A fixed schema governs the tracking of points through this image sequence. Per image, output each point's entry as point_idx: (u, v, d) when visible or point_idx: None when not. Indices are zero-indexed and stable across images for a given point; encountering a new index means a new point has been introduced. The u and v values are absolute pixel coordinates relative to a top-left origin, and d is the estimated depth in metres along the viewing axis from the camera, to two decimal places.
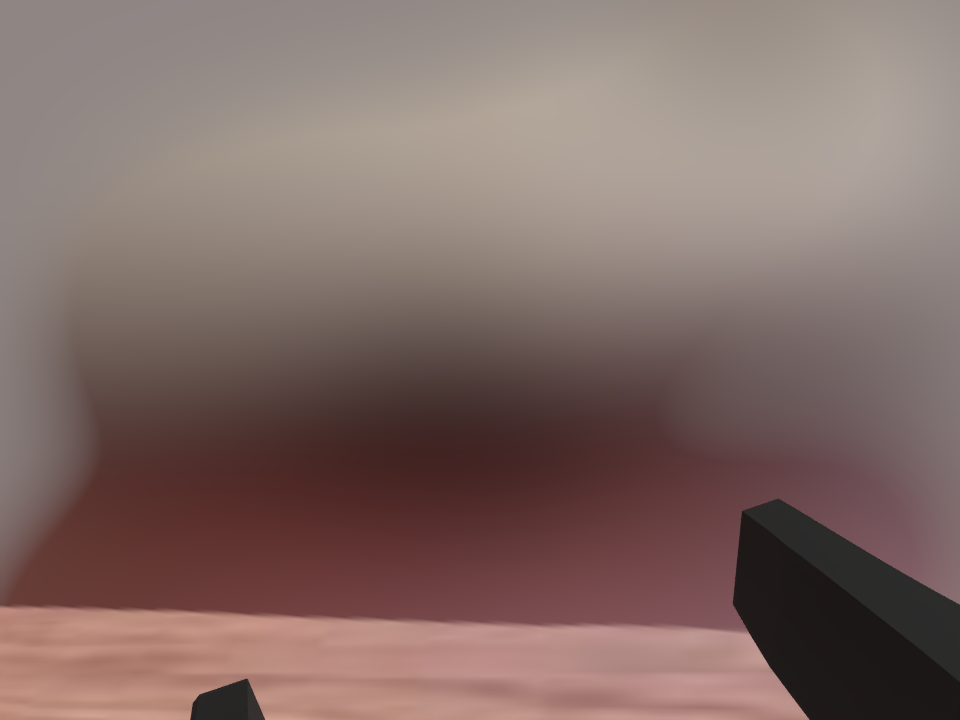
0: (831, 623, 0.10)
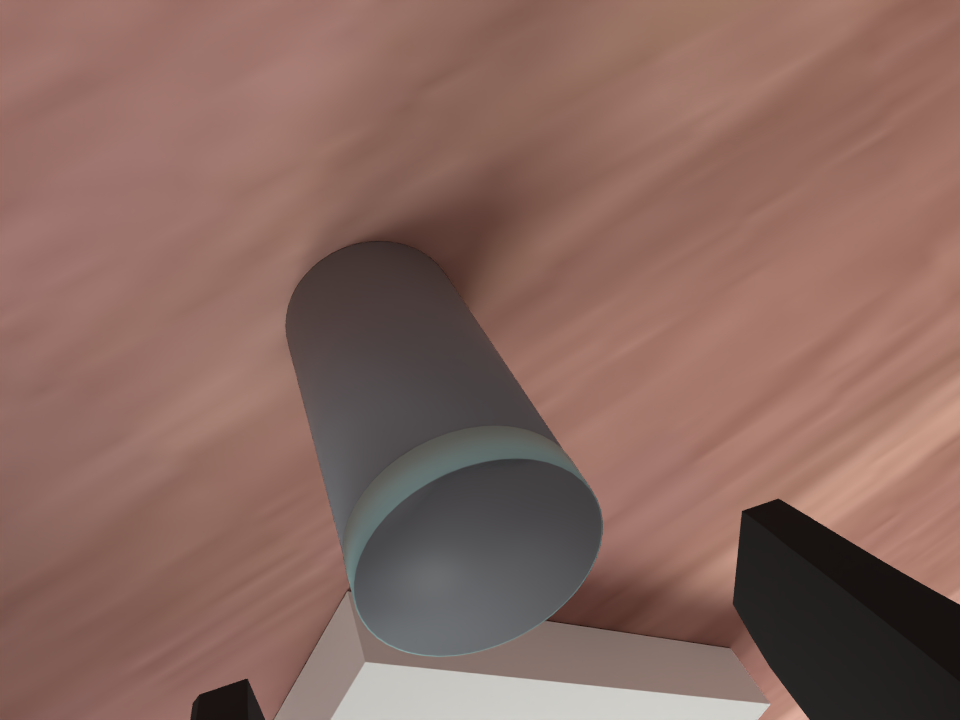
0: (831, 623, 0.10)
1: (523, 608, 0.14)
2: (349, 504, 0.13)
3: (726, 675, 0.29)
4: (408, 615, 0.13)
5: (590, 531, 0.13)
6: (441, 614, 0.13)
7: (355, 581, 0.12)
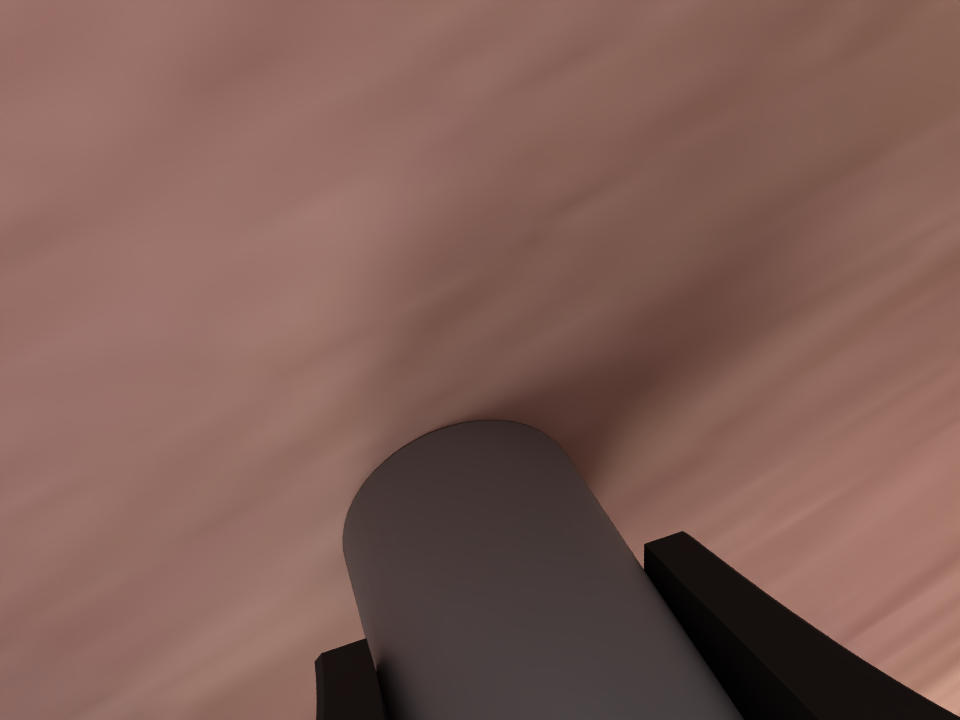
0: (723, 664, 0.10)
1: None
2: None
3: None
4: None
5: None
6: None
7: None
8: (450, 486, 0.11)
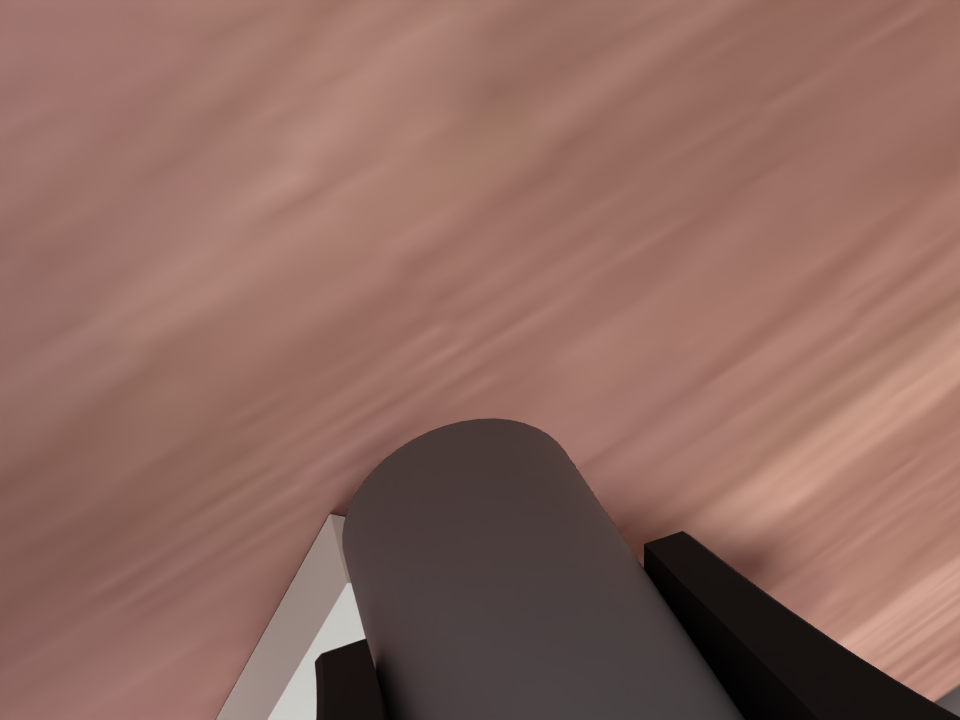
0: (723, 664, 0.10)
1: None
2: None
3: None
4: None
5: None
6: None
7: None
8: (450, 484, 0.11)
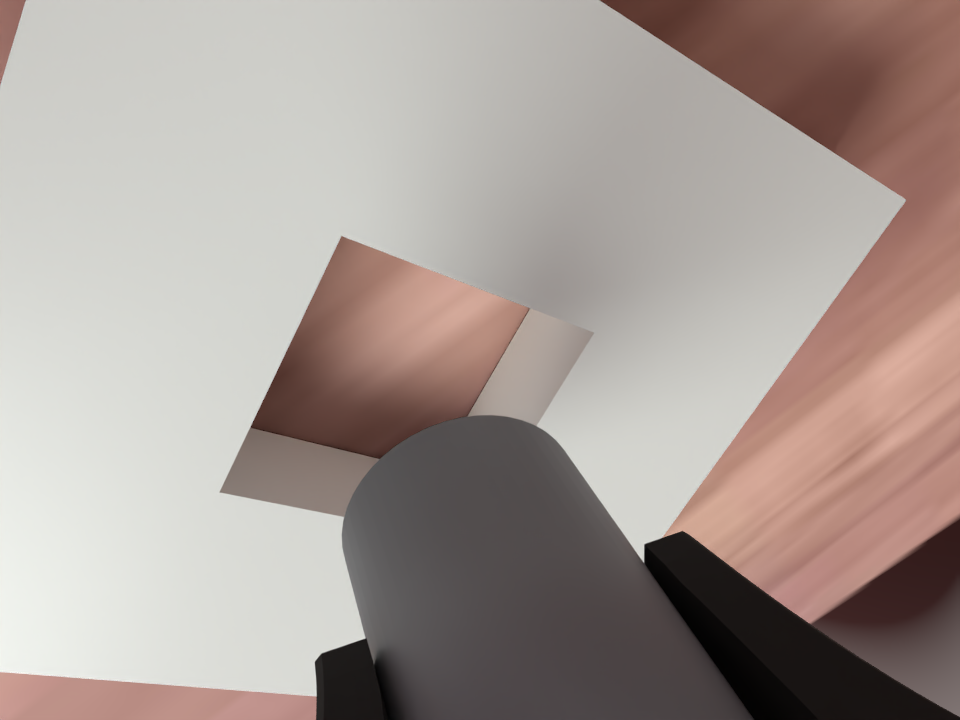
0: (723, 663, 0.10)
1: None
2: None
3: None
4: None
5: None
6: None
7: None
8: (447, 477, 0.11)
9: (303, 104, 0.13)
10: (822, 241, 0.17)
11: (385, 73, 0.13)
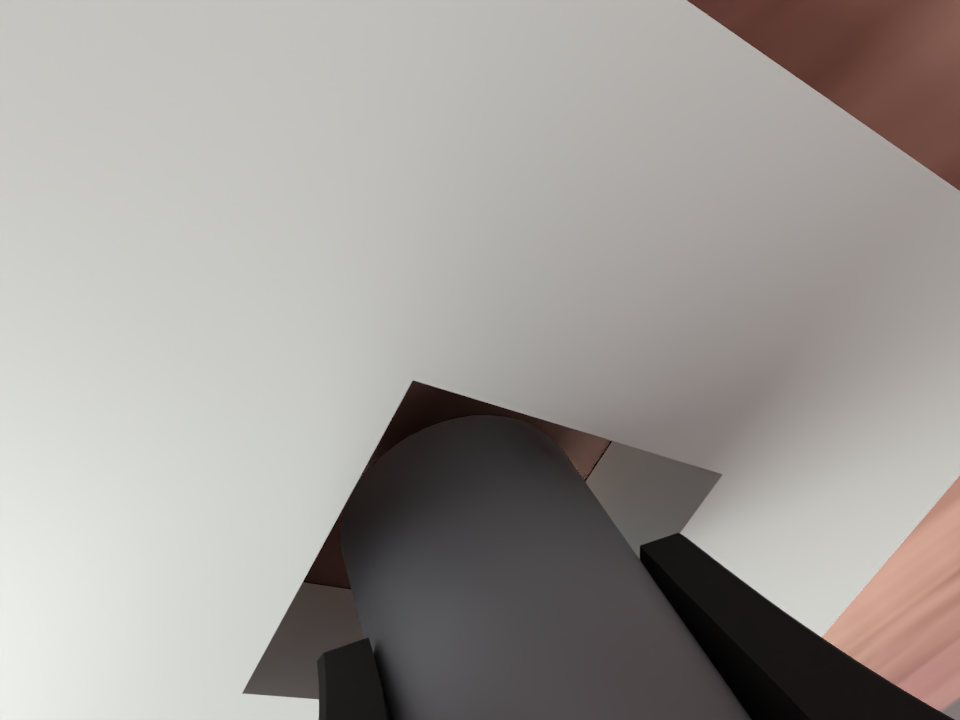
0: (718, 666, 0.10)
1: None
2: None
3: None
4: None
5: None
6: None
7: None
8: (446, 477, 0.11)
9: (369, 214, 0.09)
10: None
11: (483, 169, 0.09)
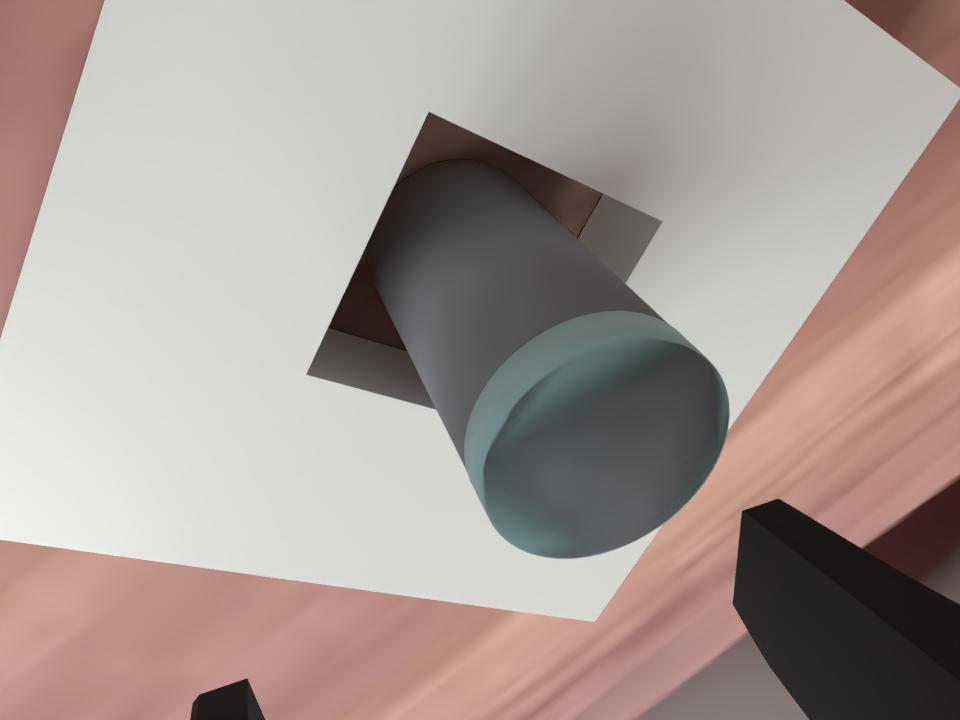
0: (831, 623, 0.10)
1: (644, 508, 0.13)
2: (472, 397, 0.12)
3: None
4: (532, 510, 0.12)
5: (716, 424, 0.13)
6: (564, 511, 0.13)
7: (484, 470, 0.12)
8: (441, 186, 0.17)
9: None
10: (882, 133, 0.18)
11: None
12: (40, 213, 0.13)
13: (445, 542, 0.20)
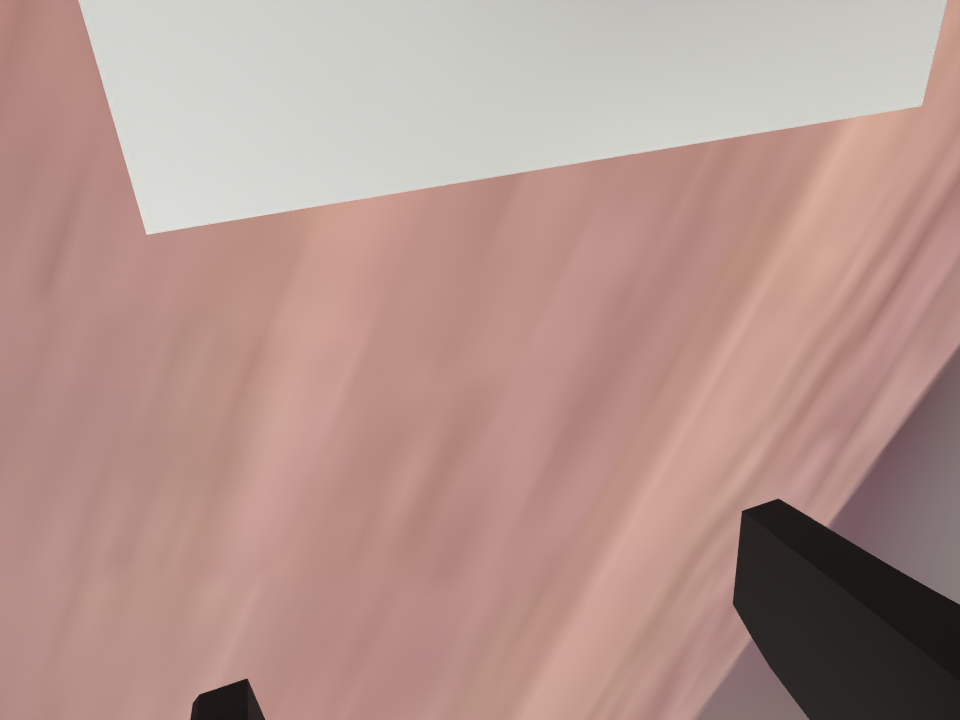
0: (831, 623, 0.10)
1: None
2: None
3: None
4: None
5: None
6: None
7: None
8: None
9: None
10: None
11: None
12: None
13: (688, 51, 0.15)
